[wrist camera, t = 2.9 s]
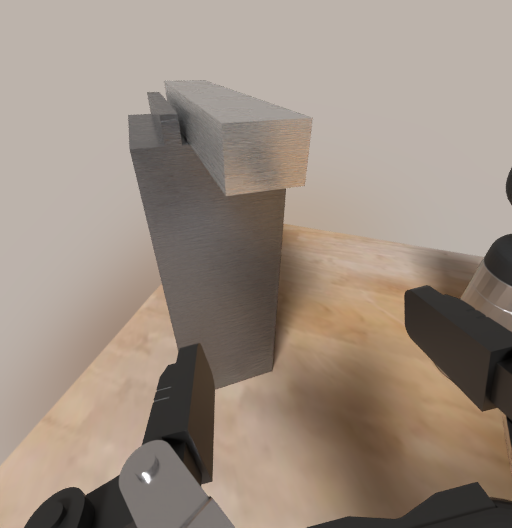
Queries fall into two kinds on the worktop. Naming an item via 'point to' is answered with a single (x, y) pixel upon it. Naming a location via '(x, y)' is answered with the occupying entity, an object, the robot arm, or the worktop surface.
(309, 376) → the worktop surface
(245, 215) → the gray grooved tower
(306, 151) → the brushed metal block
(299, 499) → the worktop surface
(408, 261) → the worktop surface
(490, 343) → the robot arm
